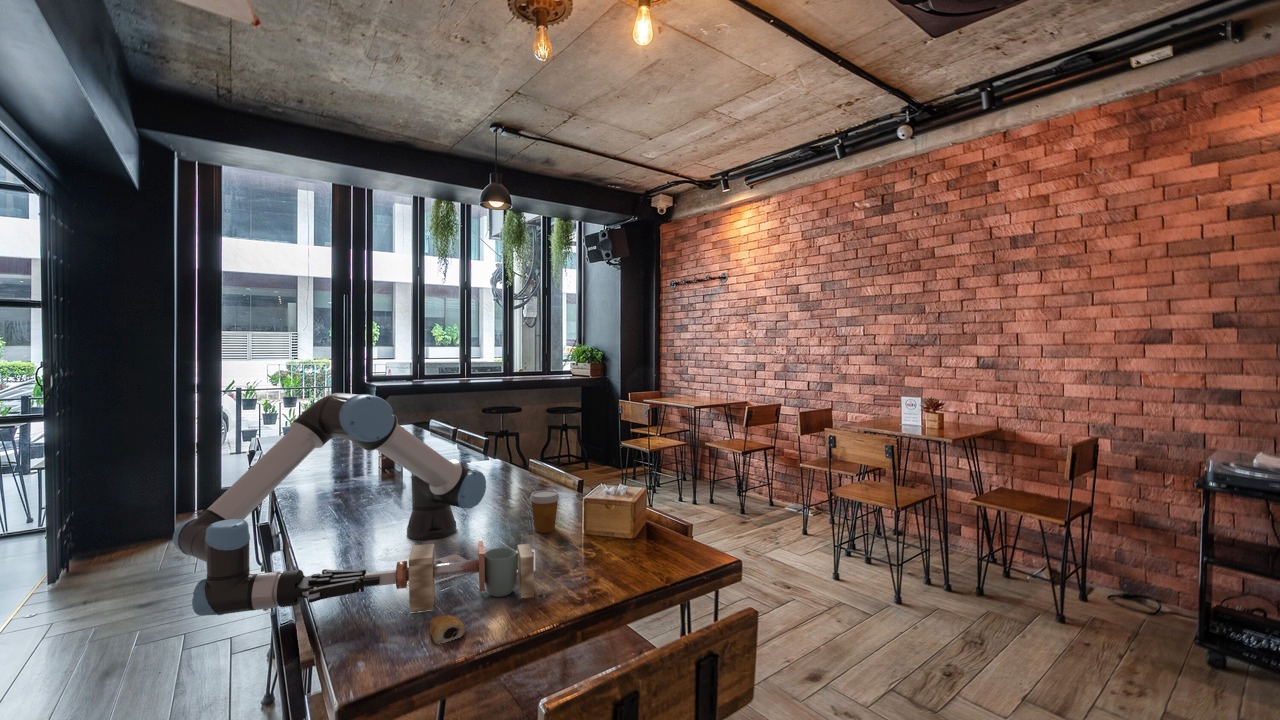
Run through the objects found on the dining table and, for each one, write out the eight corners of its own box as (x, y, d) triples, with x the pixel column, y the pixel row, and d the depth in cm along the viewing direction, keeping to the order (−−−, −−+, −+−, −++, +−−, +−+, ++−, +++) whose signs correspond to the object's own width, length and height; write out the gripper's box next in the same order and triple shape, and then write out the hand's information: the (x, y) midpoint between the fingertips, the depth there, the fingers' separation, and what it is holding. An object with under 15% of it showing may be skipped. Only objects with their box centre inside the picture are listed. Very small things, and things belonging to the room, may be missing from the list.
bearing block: (409, 614, 129) (408, 559, 129) (413, 596, 138) (412, 545, 137) (432, 610, 130) (432, 557, 130) (434, 593, 139) (434, 543, 139)
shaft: (395, 602, 128) (394, 563, 128) (399, 586, 137) (399, 549, 136) (484, 591, 134) (484, 553, 134) (483, 576, 142) (483, 540, 142)
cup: (488, 603, 134) (487, 561, 134) (481, 590, 141) (480, 550, 141) (520, 596, 138) (520, 555, 137) (512, 584, 145) (512, 545, 144)
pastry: (423, 629, 123) (423, 611, 123) (454, 620, 127) (454, 603, 127) (435, 648, 115) (435, 629, 115) (468, 638, 119) (468, 620, 119)
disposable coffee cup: (562, 525, 191) (562, 490, 190) (555, 535, 181) (555, 497, 181) (534, 524, 192) (534, 489, 191) (526, 534, 182) (526, 497, 182)
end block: (521, 598, 136) (520, 557, 136) (518, 583, 145) (517, 544, 145) (534, 597, 137) (533, 556, 137) (529, 582, 146) (529, 543, 146)
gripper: (289, 593, 132) (399, 581, 138) (270, 619, 119) (392, 605, 126) (289, 561, 131) (399, 551, 138) (270, 584, 119) (392, 571, 126)
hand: (395, 576), depth 132 cm, fingers closed
